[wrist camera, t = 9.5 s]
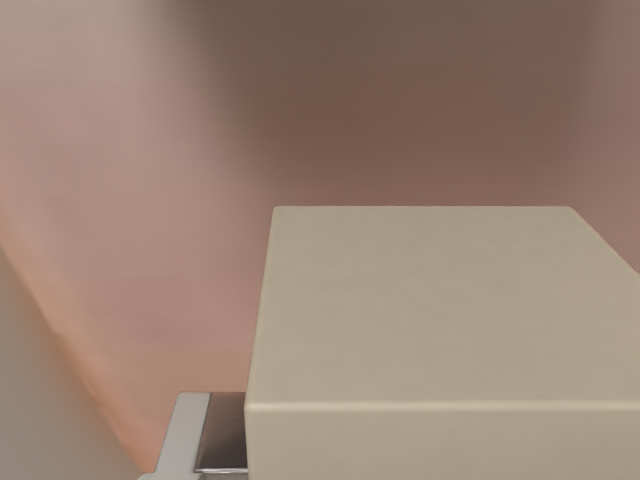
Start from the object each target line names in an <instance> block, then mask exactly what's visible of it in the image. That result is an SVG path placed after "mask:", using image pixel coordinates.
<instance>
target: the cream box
mask: <svg viewBox="0 0 640 480" xmlns="http://www.w3.org/2000/svg"><path fill="white" fill-rule="evenodd" d="M244 418H245V432H246V447H247V462H248V477H249V480H640V275H639V274H638V273H637V272H636V271H635V270H634V269H633V268H632V267H631V266H630V265H629V264H628V263H627V262H626V261H625V260H624V259H623V258H622V257H621V256H620V255H619V254H618V253H617V252H616V251H615V250H614V249H613V248H612V247H611V246H610V245H609V244H608V243H607V242H606V241H605V240H604V239H603V238H602V237H601V236H600V235H599V234H598V233H597V232H596V231H595V230H594V229H593V228H592V227H591V226H590V225H589V224H588V223H587V222H586V221H585V220H584V219H583V218H582V217H581V216H580V215H579V214H578V213H577V212H576V211H575V210H574V209H573V208H572V207H569V206H276V207H274V209H273V213H272V219H271V226H270V233H269V240H268V247H267V253H266V260H265V267H264V274H263V280H262V287H261V294H260V301H259V307H258V314H257V321H256V328H255V335H254V341H253V348H252V355H251V362H250V368H249V375H248V382H247V389H246V395H245V402H244Z"/></svg>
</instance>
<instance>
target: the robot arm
mask: <svg viewBox="0 0 640 480" xmlns="http://www.w3.org/2000/svg"><path fill="white" fill-rule="evenodd" d="M245 395H246V392H213V393H211V392H181V393H180V394H179V396H178V397H177V398H176V401H175V404H174V408H173V411H172V414H171V418H170V421H169V424H168V428H167V431H166V434H165V438H164V441H163V444H162V448H161V451H160V454H159V457H158V461H157V464H156V467H155V471H154V473H144V474H142V475H141V476H140V477H139V478H138V479H137V480H249V477H248V462H247V447H246V432H245V418H244V402H245Z"/></svg>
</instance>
